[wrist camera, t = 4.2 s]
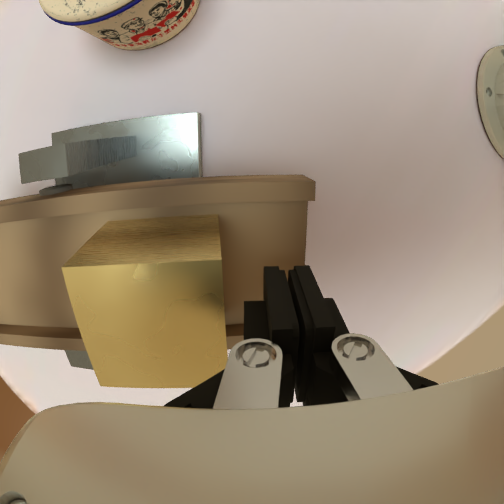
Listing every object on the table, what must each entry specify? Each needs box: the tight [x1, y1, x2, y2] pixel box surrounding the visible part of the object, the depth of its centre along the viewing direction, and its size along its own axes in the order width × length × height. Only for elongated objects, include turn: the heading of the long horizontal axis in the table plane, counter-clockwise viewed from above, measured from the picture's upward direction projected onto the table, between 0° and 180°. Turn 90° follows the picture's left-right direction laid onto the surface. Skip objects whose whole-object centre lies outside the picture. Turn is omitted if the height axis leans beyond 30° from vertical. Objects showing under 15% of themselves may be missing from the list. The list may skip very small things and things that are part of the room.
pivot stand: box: [19, 113, 202, 370], centre depth 19 cm, size 12×15×11 cm
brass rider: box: [62, 214, 228, 388], centre depth 12 cm, size 5×5×5 cm
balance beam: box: [0, 175, 316, 351], centre depth 14 cm, size 24×8×4 cm, turn 91°
